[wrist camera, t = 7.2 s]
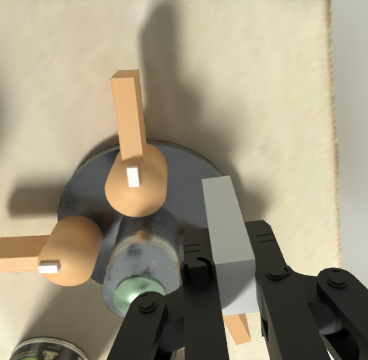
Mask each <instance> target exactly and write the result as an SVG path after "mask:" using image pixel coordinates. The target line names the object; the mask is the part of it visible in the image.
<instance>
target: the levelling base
mask: <svg viewBox="0 0 368 360" xmlns="http://www.w3.org/2000/svg"><path fill="white" fill-rule="evenodd" d="M146 143H147V144H150V145H153V146H155V147H156V148H158V149H159V150H160V151H161V152H162V153H163V154H164V156H165V158H166V160H167V163H168V178H167V192H166V198H165V201H164V203H163V205H162V206H161V207H160V208H159V209H158V210H157V211H156V212H154V213H153V214H151V215H148V216H144V217H131V216H127V215H124V214H122V213H120V212H118V211H117V210H115V209H114V208H113V207H112V206H111V204H110V203H109V201H108V200H107V197H106V194H105V184H106V180H107V178H108V176H109V173H110V171H111V168H112V166H113V164H114V161H115V159H116V156H117V155H118V153H119V152H120V151H121V149H120V144H116V145H114V146H111V147H109V148H106V149H104V150H102V151H100V152H99V153H97V154H95V155H94V156H92V157H91V158H90V159H88V160H87V161H86V162H85V163H84V164H83V165H82V166H81V167H80V168H79V169H78V170H77V171H76V173H75V174H74V175H73V177H72V178H71V180H70V181H69V183H68V185H67V186H66V188H65V190H64V192H63V194H62V197H61V200H60V203H59V209H58V222H59V221H60V220H61V219H63V218H64V217H67V216H72V215H78V216H84V217H87V218H89V219H91V220H92V221H94V222H95V223H96V224H97V225H98V226H99V228H100V229H101V231H102V234H103V241H102V244H101V247H100V250H99V253H98V256H97V260H96V263H95V266H94V269H93V272H92V274H91V276H90V278H92V279H93V280H95V281H96V282H98V283H100V284H102V285H103V287H102V296H103V300H104V302H105V304H106V305H107V306H108V308H109V309H110V310H111V311H113V312H114V313H115V314H117V315H119V316H121V317H123V318H125V316H126V313H127V311H128V309H129V306H130V304H131V302H132V301H133V299H134V298H135V297H137V296H138V295H139V294H141V293H144V292H146V291H155V292H159V293H160V294H162V295H163V296H164V295H166V294H169V293H171V292H173V291H175V290H176V289H178V288H179V287H180V286H181V284H182V279H181V274H180V265H181V263H182V262H183V261H184V248H183V247H184V246H183V237H184V236H185V234H186V232H187V230H195V229H202V228H208V221H207V214H206V206H205V199H204V192H203V185H202V179H207V178H214V177H222V176H223V175H222V174H221V172H220V171H219V170H218V169H217V168H216V167H215V166H214V165H213V164H212V163H211V162H209V161H208V160H207V159H205V158H204V157H203V156H201V155H199V154H198V153H196V152H194V151H192V150H190V149H188V148H185V147H183V146H180V145H177V144H173V143H169V142H164V141H157V140H146Z"/></svg>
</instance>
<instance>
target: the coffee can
mask: <svg viewBox="0 0 368 360" xmlns="http://www.w3.org/2000/svg"><path fill="white" fill-rule="evenodd" d="M10 360H88V359H87V357H86V355H85V354H84V353H83V352H82V351H81V350H80V349H79V348H77V347H76V346H74V345H73V344H71V343H69V342H66V341H64V340H60V339H56V338H47V337H41V338H33V339H29V340H26V341H24V342H22V343H21V344H19V345H18V346H17V347H16V348H15V349H14V350H13V352H12V354H11V358H10Z"/></svg>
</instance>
